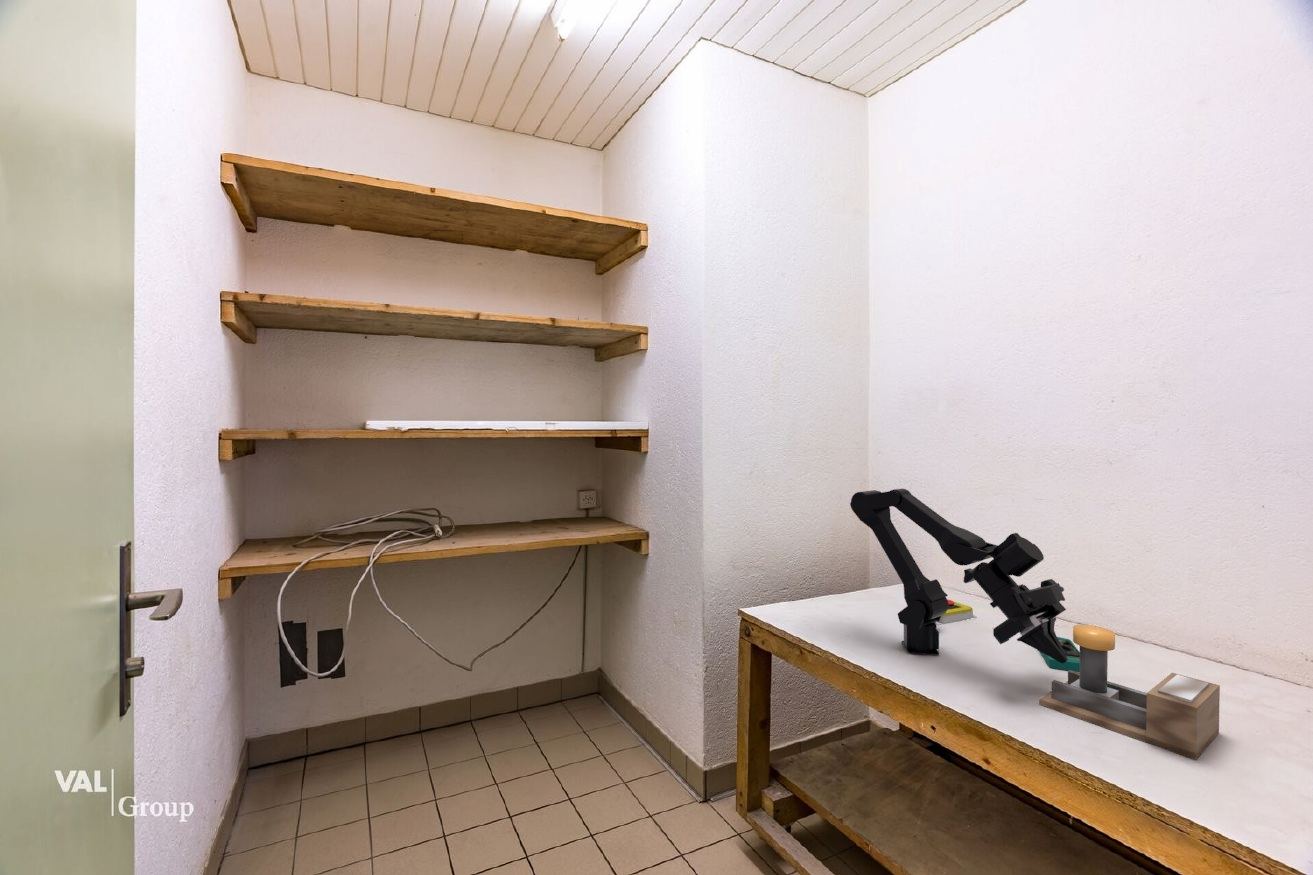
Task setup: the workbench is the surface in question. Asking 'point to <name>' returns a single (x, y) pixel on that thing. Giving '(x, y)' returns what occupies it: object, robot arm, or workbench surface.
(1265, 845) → the workbench surface
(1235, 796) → the workbench surface
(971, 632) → the workbench surface
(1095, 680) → the knob carriage
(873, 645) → the workbench surface
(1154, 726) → the knob mount
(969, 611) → the emergency button
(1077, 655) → the digital multimeter
